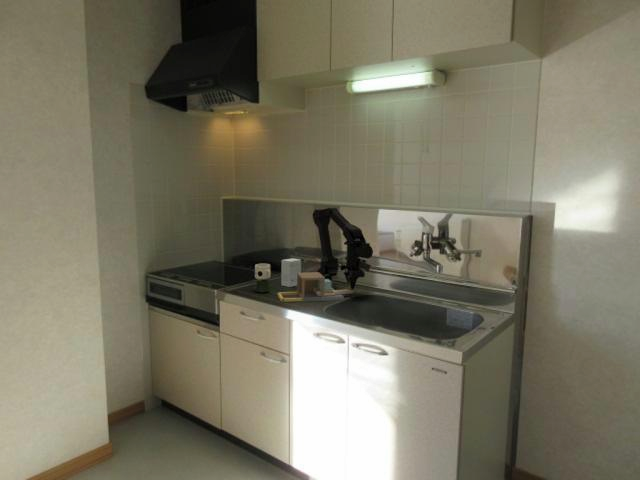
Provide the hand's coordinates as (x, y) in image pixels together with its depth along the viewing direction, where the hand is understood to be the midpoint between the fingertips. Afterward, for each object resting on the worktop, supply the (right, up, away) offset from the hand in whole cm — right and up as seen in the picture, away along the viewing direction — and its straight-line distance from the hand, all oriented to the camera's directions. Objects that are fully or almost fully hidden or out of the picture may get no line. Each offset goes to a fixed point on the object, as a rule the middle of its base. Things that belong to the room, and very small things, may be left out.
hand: (351, 288), depth 213 cm
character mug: (-42, -2, +5) cm, 42 cm away
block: (-13, -1, -3) cm, 13 cm away
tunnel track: (-19, -4, -4) cm, 20 cm away
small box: (-29, 0, +21) cm, 36 cm away
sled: (-8, -2, -2) cm, 8 cm away
